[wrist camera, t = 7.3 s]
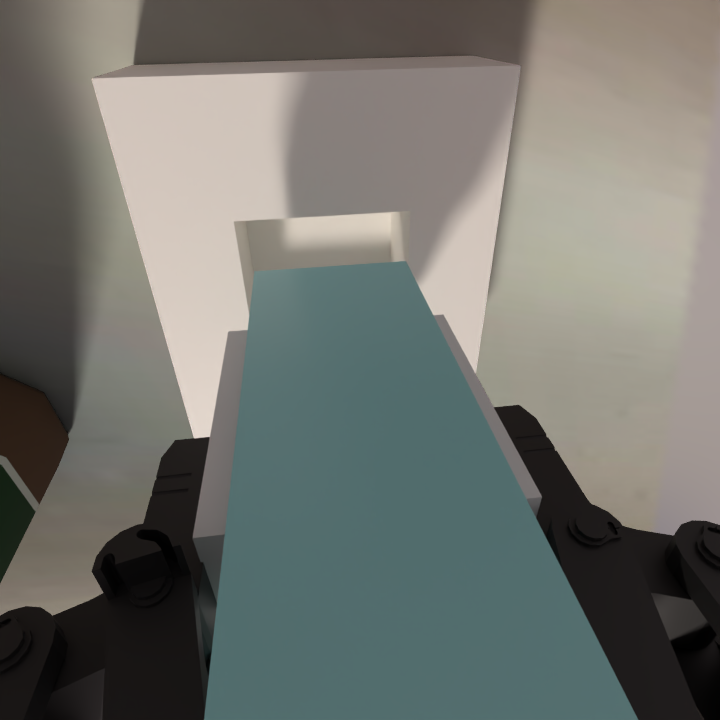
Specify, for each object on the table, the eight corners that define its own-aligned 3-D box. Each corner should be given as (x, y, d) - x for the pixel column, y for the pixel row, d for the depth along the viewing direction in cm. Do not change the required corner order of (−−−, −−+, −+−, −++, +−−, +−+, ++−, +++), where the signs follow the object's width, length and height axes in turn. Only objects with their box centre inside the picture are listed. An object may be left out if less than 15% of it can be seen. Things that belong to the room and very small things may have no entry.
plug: (253, 271, 14) (194, 808, 5) (405, 261, 15) (644, 731, 5) (272, 392, 17) (258, 902, 7) (401, 380, 17) (553, 846, 8)
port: (132, 64, 17) (88, 79, 13) (472, 55, 18) (523, 66, 14) (210, 387, 25) (197, 454, 21) (442, 366, 26) (469, 426, 22)
